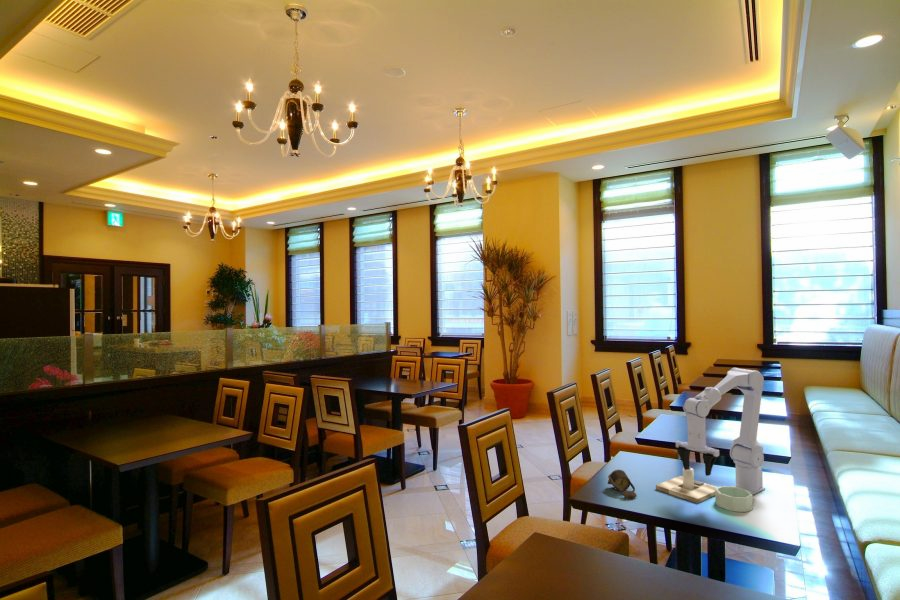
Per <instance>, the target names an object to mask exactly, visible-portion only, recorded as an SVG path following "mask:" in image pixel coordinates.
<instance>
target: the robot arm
mask: <svg viewBox="0 0 900 600" xmlns="http://www.w3.org/2000/svg"><path fill="white" fill-rule="evenodd" d="M764 379H765V378H764V376H763V374H762V373H761V372H760V371H759V370H754V369H753V370H752V369H745V368H739V367H732V368H730V370H728V371H727V372H726V376H725V377H724V378H723V379H722V380H721V381H719V382H718V383H717V384H716V385H715V386H707V387H705V388H704V390H702V391H701V392H700V393H698V394H697V395H695V396H694V397H688V399H686V400H685V401H684V403H683V406H682V409H683V411H684V413H685V418H686V421H687V423H686V424H687V425H686V426H687V427H686V428H687V441H681V440H676V441H675V448H677V449H676V452H677V453H678V456H679V457H680V459H681V461H682V465H683V468H684V470H687V469H689V467H690V455H691V451H694V452H697V453H702V454H705V455H702V457H703V461H704V466H705V467H704V472H705V476H706V477H707V476H708V477H709V476H711V475H712V471H713V467H714V464H715V462H716V460H717V458H718V457H719V456H720V450H719V449H717V448H713V447H710V446H708V445H707V434H706V433H707V432H706V427H707V425H706V424H707V423H706V417H707V416H708V415H709V413H710V410H711V409H712V407H714V406H715V405H716V404H717V403H718V402H720V401H721V400H722V395H724V394H725V393H727V392H729V391H730V390H732V389H734V388H735V387H736V388H737V389H739V390H740V391H741V393H742V394H743V404H742V412H741V419H740V420H741V421H740V429H739V436H738V437H736V438H735V439H733V440H732V444H731V447H730V449H729V457H730V458H731V460H733V463H734V464H735V465H734V466H735V484H734V485H731V487H738V488H741V489H744V490H748V491H749V492H750V493H751V494H752V496H753V495H756V494H758V493H760V492H762V491H764V490H766V487H765V486H764V485H763V483H764V482H763V481H764V480H763V479H764V478H763V469H762V468H761V467H762V465H763V463H764V460H765V456H764V447H763V446H762V444H761V443H760V442H759V441H758V440H757V437H758V428H759V420H760V412H761V404H762V403H761V402H762V394H763V388H764Z"/></svg>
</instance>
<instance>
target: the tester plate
mask: <svg viewBox="0 0 900 600" xmlns="http://www.w3.org/2000/svg"><path fill="white" fill-rule="evenodd" d="M718 487H719V486H716V485H712V484H708V483H706V482H703V481H699V480H697V479H694V490H692V491H691V490H688V489H684V488H683V475H679V476H676V477H673V478H671V479H669V480H666V481H662V482H660V483H658V484H656V485H655V490H658V491H660V492H662V493H666V494H669V495H671V496H675V497H678V498H682V499H685V500H687V501H691V502H694V503H696V504H699V503H702V502H704V501H706V500H708V499H711V498H713V497H715V489H716V488H718Z"/></svg>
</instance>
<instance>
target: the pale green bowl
mask: <svg viewBox="0 0 900 600" xmlns="http://www.w3.org/2000/svg"><path fill="white" fill-rule="evenodd" d="M717 487H718V488H716V489H715V496H714V498H715V504H716V506H717V507H720V508H722V509H723V510H727V511H731V512H735V513H748V512H750V511H752V510H753V494H751V493H750V492H749V491H748V490H744V489H741V488H738V487H732V485H731V486H729V485H727V486H726V485H720V486H717Z"/></svg>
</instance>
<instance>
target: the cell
mask: <svg viewBox="0 0 900 600" xmlns="http://www.w3.org/2000/svg"><path fill="white" fill-rule="evenodd" d="M694 471H695V470H694V468H693V467H691V466H689V469H687V470H684V467H682V477H683V488H684V489H688V490H691V491H692V490H694V480H695V477H694V476H695V472H694Z"/></svg>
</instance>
